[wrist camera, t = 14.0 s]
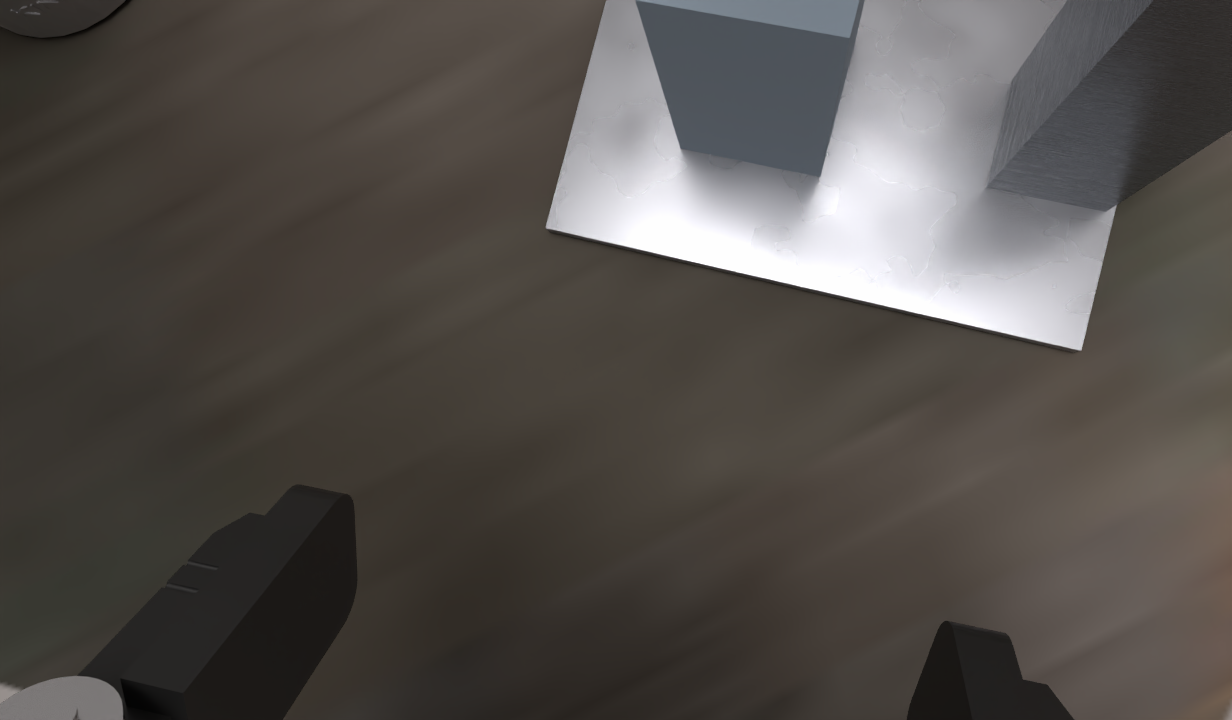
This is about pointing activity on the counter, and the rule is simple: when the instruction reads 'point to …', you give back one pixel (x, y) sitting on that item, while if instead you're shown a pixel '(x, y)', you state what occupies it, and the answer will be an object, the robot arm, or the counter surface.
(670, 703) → the counter surface
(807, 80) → the block
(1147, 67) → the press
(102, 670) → the robot arm
